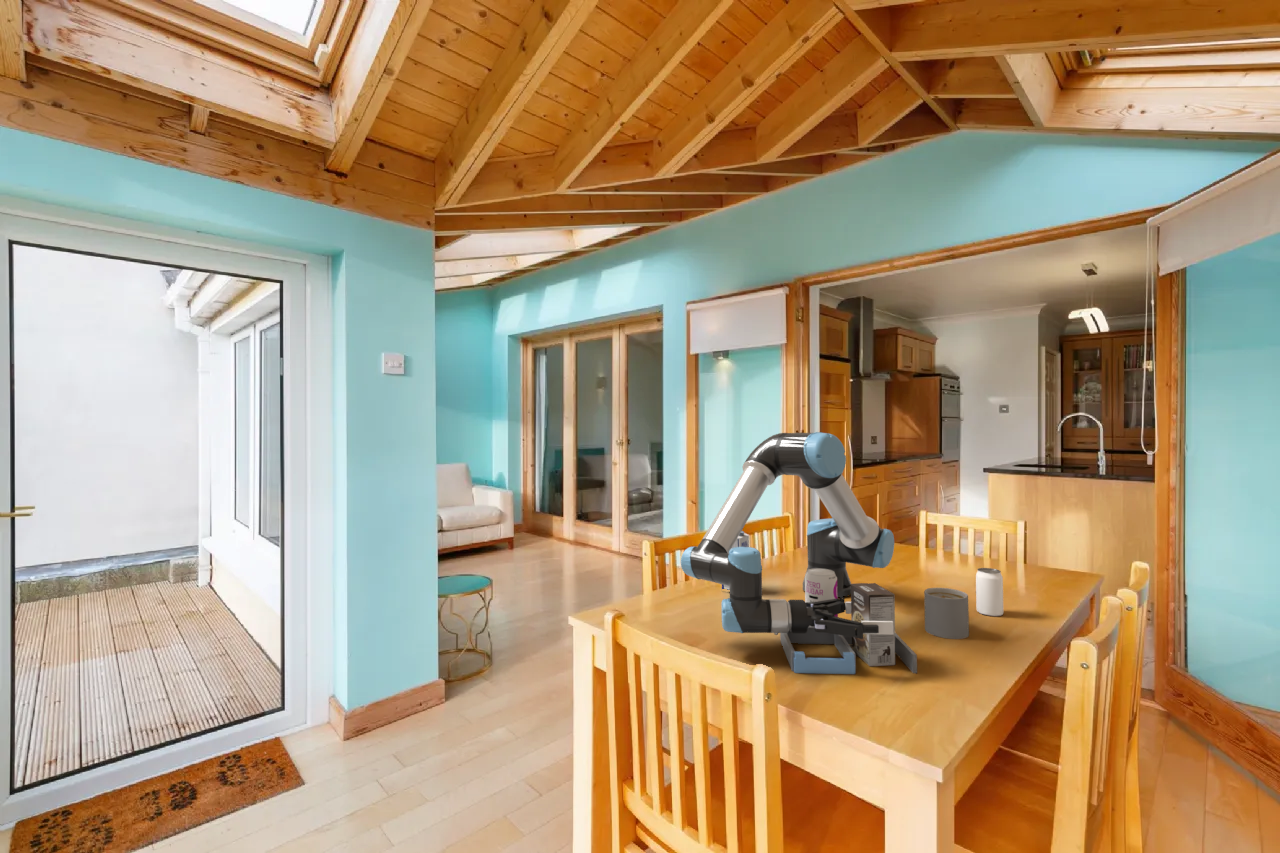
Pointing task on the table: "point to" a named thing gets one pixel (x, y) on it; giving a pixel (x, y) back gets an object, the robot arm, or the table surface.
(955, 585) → the table surface
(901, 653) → the divider rack
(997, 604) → the can
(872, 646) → the coffee box
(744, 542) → the milk carton
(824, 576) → the supplement can
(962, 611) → the coffee mug
